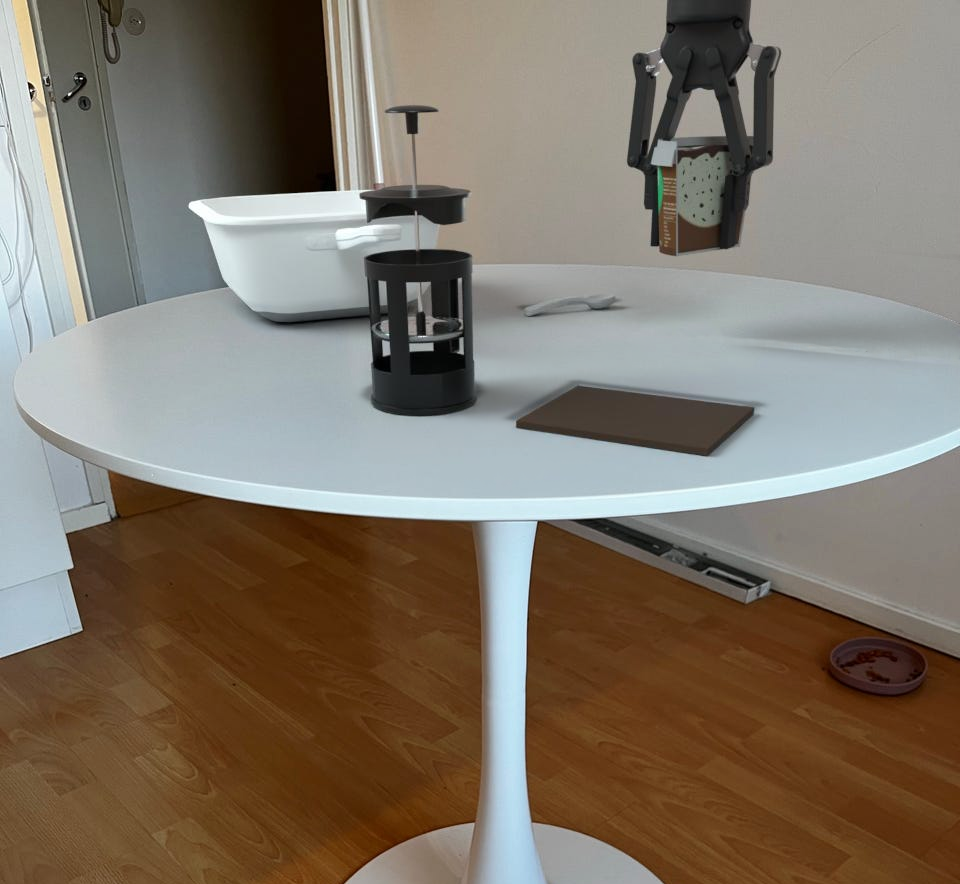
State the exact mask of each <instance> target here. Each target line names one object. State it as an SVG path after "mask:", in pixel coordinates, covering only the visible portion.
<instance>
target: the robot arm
mask: <svg viewBox="0 0 960 884" xmlns="http://www.w3.org/2000/svg"><path fill="white" fill-rule="evenodd" d="M751 8H752V0H666V13H665V14H666V17H665V27H666V28H665V34H664V37H663V40H662V41H661V44H660V47H658V48H655V49H652V50H650V51H647V52H635V54H634V55H633V56H632V59H631V60H632V67H633V73H634V78H635V86H634V95H633V103H632V112H631V119H630V120H631V121H630V129H629V130H630V131H629V138H628V148H627V157H626V165H627V166H628V167H629V168H634V169H636V170H638V171H641V172H642V174H643V175H644V190H643V191H644V192H643V193H644V194H643V206H644V210H648V211H651V225H650V227H651V228H650V247H656V248H657V247H658V248H659V209H658V165H653V164H651V161H652V157H653V152H654V148H655V147H657V144H658V140H659V139H663V141H671V139H672V138H676V134H677V131H678V128H679V125H680V123H681V119H682V117H683V113H684V111H685V108H686V105H687V102H689V100H690V98H691V96H692V93H693V91H694V92H695V91H701V90H706V91H713V92H714V97H715V99H716V100H717V103H718V107H719V112H720V115H721V120H722V124H723V130H724V133H725V136H726V138H727V143H728V147H729V152H730V156H731V161H732V165H733V170H734V171H731V172H732V174H733V175H729V176H725V185H724V198H723V211H722V224H721V236H720V249H721V250H729V249H732V248H731V247H734V246H735V242H736V230H737V219H738V211H740V212H742V211H745V210H746V211H747V210H748V207H749V204H750V193H751V184H752V183H751V182H752V176H753V174H754V173H755V172H756V171H758V170H760V169H763V168H766V167H768V166H770V165H771V164H772V163H773V161H774V160H773V159H774V121H775V120H774V119H775V116H774V115H775V113H774V112H775V110H774V109H775V76H776V72H777V69H778V66H779V63H780V61H781V57H782V50H781V48H780V47H778V46H773V45H764V44H763V45H762V44H759V43H755V42H754V39H753V37H752V35H751V31H750V19H751V10H752V9H751ZM748 57H749V58H750V68H751V70H752V71H754V76H753V116H752V117H753V121H752V123H753V124H752V125H753V127H752V128H753V130H752V131H753V132H752V136H753V157H751V152H750V147H749V143H748V138H747V136H748V134H747V129H746V125H745V120H744V116H743V111H742V107H741V101H740V97H739V96H740V90H739V86H738V80H737V77H736V75H737V74H738V72H739V71H740V69H741V67H742V66H743V65H744V64H745V62H746V60H747V59H748ZM662 63H664V64H665V66H666V68H667V70H668V71H669V73H670V75H671V80H670V82H669V85H668V89H667V92H666V100H665V103H664V106H663V108H662V111H661V115H660V117H659V120H658V124H657V127H656V130H655V132H654V135H653V138H652V141H651V145H650V139H651V133H652V124H653V115H654V108H655V107H654V106H655V98H656V89H657V76H658V75H659V74H660V72H661V66H662ZM746 211H745V212H746ZM734 248H735V247H734Z"/></svg>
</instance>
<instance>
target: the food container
mask: <svg viewBox="0 0 960 884" xmlns="http://www.w3.org/2000/svg"><path fill="white" fill-rule="evenodd" d="M747 138H748V143H749V147H750V152H751V157H753V135H747ZM651 164H653V165H658V209H659V246H658V249H659V253H660V254H662V255H666V256H672V257H682V256H688V255H694V254H700V253H707V252H715V251H721V250H722V249H720V236H721V224H722V211H723V198H724V185H725V176H729V175H733V174H732V172H731V171H734V170H733V165H732V161H731V156H730V152H729V147H728V143H727V138H726V135H709V136H707V135H706V136H681V137H680V136H679V137H674V138H672V139H671V141H663V139H659V140H658V144H657V147H655V148H654V152H653V157H652V161H651ZM746 211H747V209H746V210H745V211H742V212H740V211H738V219H737V230H736V242H735V246H734V247H731V248H730V249H735V248H740V247H741V241H742V235H743V228H744V222H745V216H746Z"/></svg>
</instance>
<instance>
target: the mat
mask: <svg viewBox="0 0 960 884" xmlns="http://www.w3.org/2000/svg"><path fill="white" fill-rule="evenodd" d="M754 415H755V406H746V405H739V404H731V403H723V402H715V401H714V402H713V401H706V400H698V399H691V398H682V397H674V396H665V395H659V394H649V393H642V392H635V391H634V392H633V391H626V390H620V389H619V390H617V389H610V388H603V387H594V386H586V385H576V386H574V387H573V388H571V389H569V390H568V391H566V392H564V393H562V394H560V395H559V396H557V397H555V398H553V399H551V400H549V401H548V402H546V403H545V404H543V405H540V406H539V407H537V408H536V409H533V410H531V412H529V413H527V414H525V415H523V416H522V417H520V418H518V419H517V420H516V421H515V428H516V429H523V430H530V431H538V432H542V433H543V432H544V433H550V434H556V435H565V436H570V437H577V438H585V439H589V440H598V441H604V442H610V443H611V442H612V443H618V444H623V445H631V446H638V447H644V448H645V447H646V448H650V449H659V450H664V451H671V452H677V453H684V454H685V453H686V454H692V455H697V456H704V457H708V456H710V454H712V453H713V452H714V451H715V450H716V449H717V448H718V447H719V446H720V445H722V444H723V443H724V442H725V441H726V440H727V439H728V438H729V437H730V436H731V435H733V434H734V433H735V432H736V431H737V430H738V429H739V428H740V427H741V426H742V425H743V424H745V423H746V422H747V421H748V420H749V419H750V418H752V416H754Z"/></svg>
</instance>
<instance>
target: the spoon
mask: <svg viewBox="0 0 960 884" xmlns="http://www.w3.org/2000/svg"><path fill="white" fill-rule="evenodd" d="M615 302H616V295H615V294H613V293H599V294H593V295H590V296H583V295H572V296H571V295H569V296H562V297H557V298H553V299H550V300H546V301H543V302H540V303H536V304H532V305H529V306H526V307H524V309H523V312H524V316H527V317H532V316H535V315H537V314H540V313H542V312H544V311H547V310H550V309H552V308H556V307H560V306H563V305H567V304H572V303H581V304H584V305H587V306H588V307H589V308H590V309H596V310H599V309H605V308H608V307H610V306H611V305H613V304H614V303H615Z"/></svg>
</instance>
